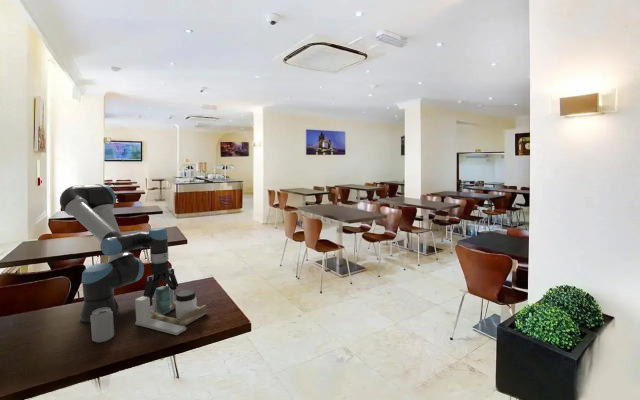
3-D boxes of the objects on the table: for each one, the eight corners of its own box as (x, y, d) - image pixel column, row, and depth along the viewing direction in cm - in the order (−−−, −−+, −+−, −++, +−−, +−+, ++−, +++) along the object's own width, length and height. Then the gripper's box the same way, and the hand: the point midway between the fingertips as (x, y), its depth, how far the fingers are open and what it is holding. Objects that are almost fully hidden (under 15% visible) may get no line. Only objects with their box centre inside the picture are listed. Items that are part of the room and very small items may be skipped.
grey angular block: (135, 324, 143) (133, 299, 142) (145, 319, 148) (144, 295, 147) (176, 335, 134) (175, 308, 133) (186, 329, 139) (184, 304, 138)
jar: (177, 324, 144) (175, 297, 143) (175, 316, 152) (174, 291, 150) (198, 319, 149) (197, 294, 148) (195, 312, 156) (194, 288, 155)
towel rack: (147, 318, 149) (145, 292, 148) (172, 305, 163) (171, 282, 161) (183, 327, 141) (181, 300, 140) (206, 313, 154) (205, 288, 153)
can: (97, 345, 127) (95, 315, 126) (88, 340, 131) (86, 311, 130) (118, 337, 134) (116, 308, 132) (108, 332, 138) (106, 304, 136)
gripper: (143, 269, 141) (146, 318, 143) (184, 255, 162) (187, 299, 164) (131, 267, 144) (134, 315, 146) (173, 254, 165) (175, 297, 167)
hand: (162, 307), depth 155 cm, fingers open, 10 cm apart
